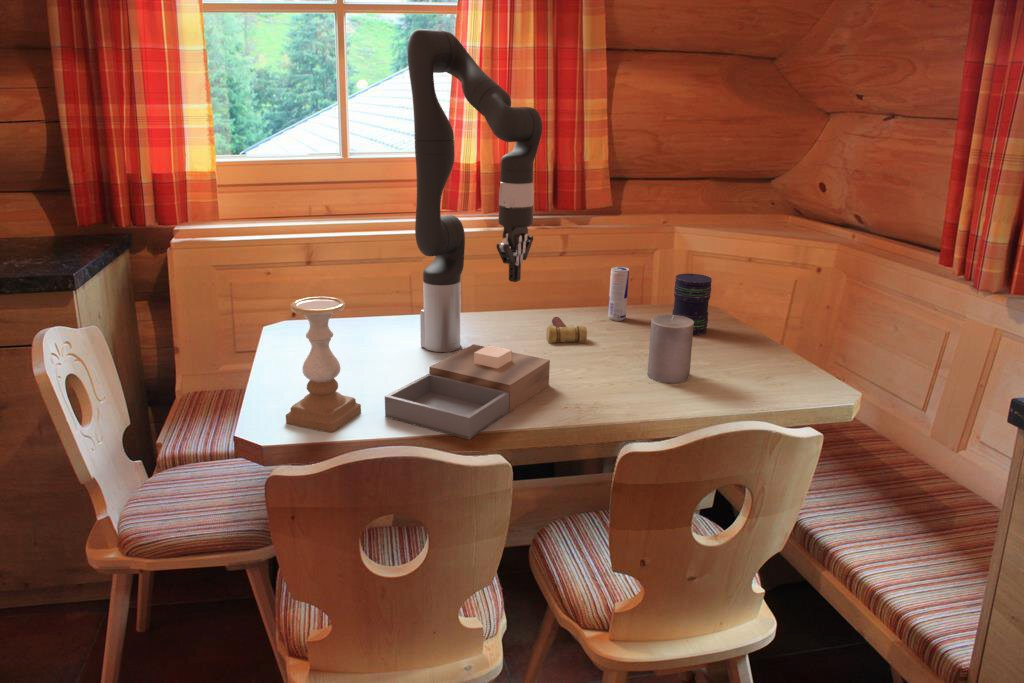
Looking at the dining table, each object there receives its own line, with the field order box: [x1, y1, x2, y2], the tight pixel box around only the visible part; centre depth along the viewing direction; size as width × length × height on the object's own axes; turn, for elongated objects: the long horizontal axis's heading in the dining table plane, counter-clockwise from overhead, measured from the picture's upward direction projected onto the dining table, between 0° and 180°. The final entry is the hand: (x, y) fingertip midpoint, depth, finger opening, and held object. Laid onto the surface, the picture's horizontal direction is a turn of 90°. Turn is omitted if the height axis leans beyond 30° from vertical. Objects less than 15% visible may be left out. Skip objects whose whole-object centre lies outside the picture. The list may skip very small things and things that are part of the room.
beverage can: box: [607, 266, 630, 322], centre depth 228 cm, size 5×5×15 cm
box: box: [384, 373, 510, 441], centre depth 162 cm, size 20×15×4 cm
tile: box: [474, 345, 513, 368], centre depth 176 cm, size 6×6×2 cm
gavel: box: [546, 316, 588, 344], centre depth 217 cm, size 21×5×10 cm
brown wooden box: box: [428, 343, 551, 413], centre depth 176 cm, size 20×18×6 cm
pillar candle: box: [646, 314, 694, 384], centre depth 184 cm, size 10×10×15 cm
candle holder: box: [285, 296, 362, 433], centre depth 157 cm, size 11×11×24 cm
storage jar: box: [671, 273, 713, 337], centre depth 219 cm, size 10×10×15 cm
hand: (514, 281), depth 178 cm, fingers closed
